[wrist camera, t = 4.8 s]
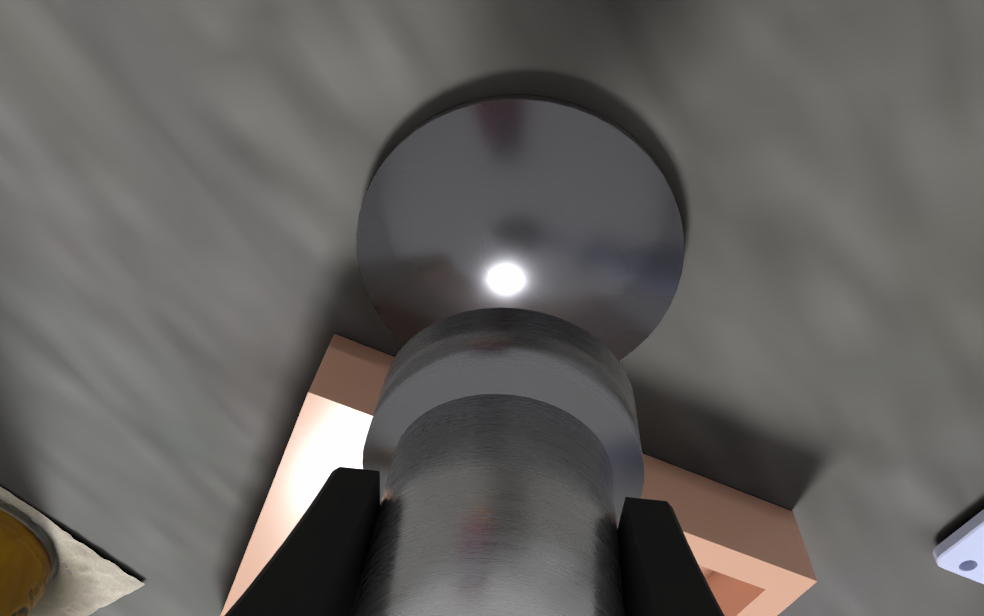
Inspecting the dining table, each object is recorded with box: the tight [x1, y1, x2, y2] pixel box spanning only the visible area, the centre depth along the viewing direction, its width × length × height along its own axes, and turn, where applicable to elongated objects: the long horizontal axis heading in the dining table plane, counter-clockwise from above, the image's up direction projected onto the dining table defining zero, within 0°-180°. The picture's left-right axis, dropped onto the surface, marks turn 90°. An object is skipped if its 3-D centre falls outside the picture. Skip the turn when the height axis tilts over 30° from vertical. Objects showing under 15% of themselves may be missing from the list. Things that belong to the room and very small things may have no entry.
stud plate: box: [357, 95, 684, 361], centre depth 18 cm, size 8×8×1 cm
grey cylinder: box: [351, 308, 644, 616], centre depth 10 cm, size 5×5×8 cm
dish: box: [221, 334, 817, 616], centre depth 24 cm, size 15×15×2 cm
